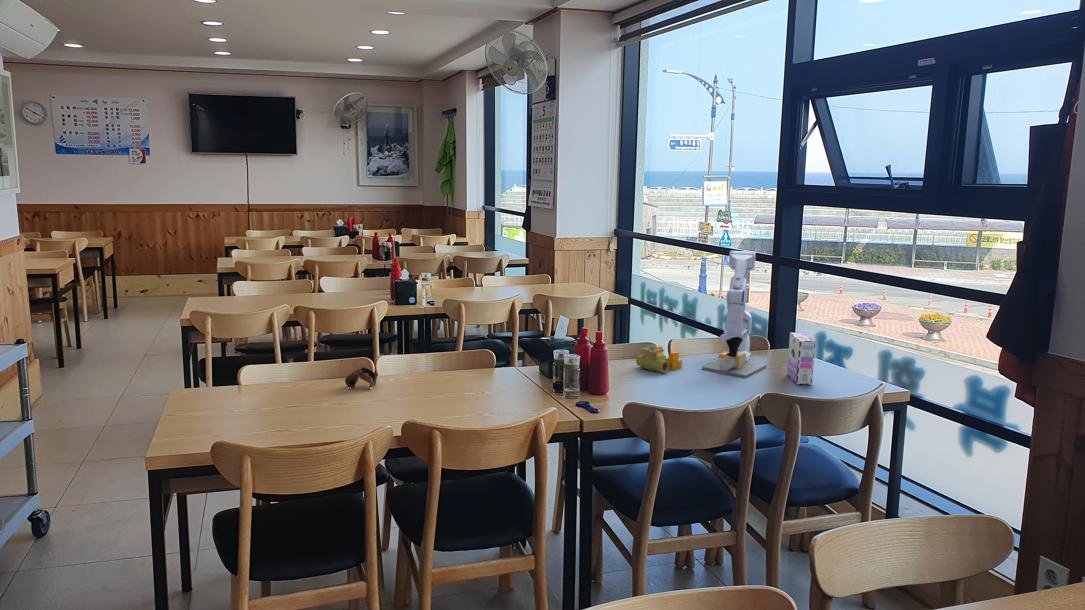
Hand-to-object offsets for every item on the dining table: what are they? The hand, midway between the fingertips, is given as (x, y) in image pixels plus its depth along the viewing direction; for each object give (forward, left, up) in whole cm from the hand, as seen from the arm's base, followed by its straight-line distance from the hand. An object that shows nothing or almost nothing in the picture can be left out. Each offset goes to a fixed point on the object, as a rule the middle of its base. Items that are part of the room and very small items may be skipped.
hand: (732, 356), depth 306 cm
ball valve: (+13, -25, -7) cm, 29 cm away
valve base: (-8, -2, -7) cm, 11 cm away
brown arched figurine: (+101, -92, -7) cm, 137 cm away
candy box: (-9, +23, -7) cm, 25 cm away
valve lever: (-2, -2, 0) cm, 3 cm away
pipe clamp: (+4, -25, -7) cm, 26 cm away
